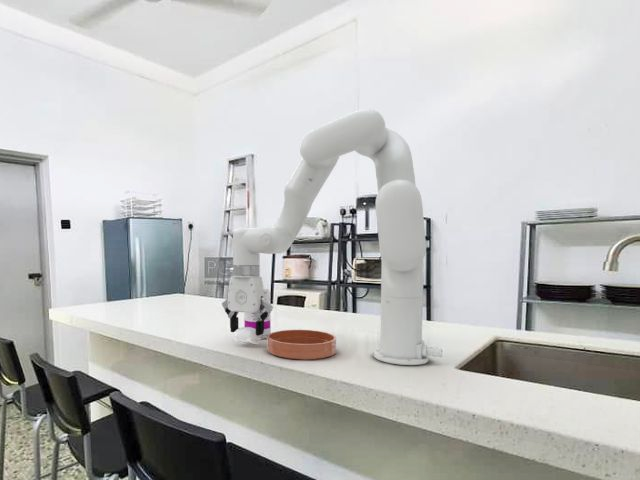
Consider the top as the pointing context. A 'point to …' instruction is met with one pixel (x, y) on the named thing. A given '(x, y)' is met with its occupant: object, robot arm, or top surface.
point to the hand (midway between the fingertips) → (246, 332)
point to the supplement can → (251, 320)
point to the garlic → (246, 335)
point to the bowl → (301, 344)
